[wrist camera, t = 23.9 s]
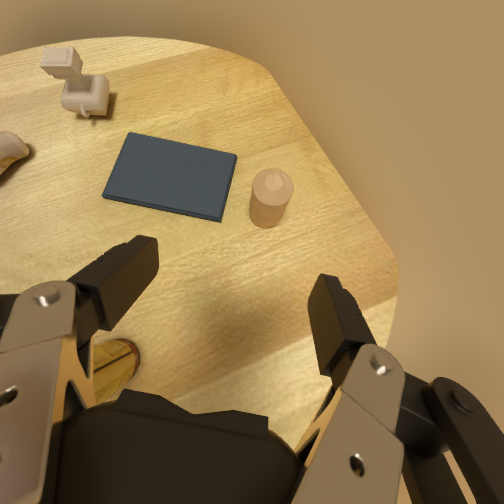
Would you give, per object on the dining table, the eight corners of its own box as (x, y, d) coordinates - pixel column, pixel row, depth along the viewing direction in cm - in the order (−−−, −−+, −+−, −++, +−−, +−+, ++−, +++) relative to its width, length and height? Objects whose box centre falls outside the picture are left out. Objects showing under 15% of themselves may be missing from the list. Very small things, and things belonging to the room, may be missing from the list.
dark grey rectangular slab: (104, 198, 34) (98, 194, 33) (130, 135, 37) (126, 129, 36) (220, 222, 34) (219, 219, 33) (237, 158, 37) (237, 153, 36)
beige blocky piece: (112, 127, 37) (76, 79, 29) (74, 127, 37) (27, 77, 29) (118, 89, 39) (86, 34, 31) (82, 88, 39) (40, 32, 31)
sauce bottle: (88, 354, 28) (-229, 465, 9) (130, 329, 30) (-75, 382, 10) (106, 398, 27) (-210, 631, 8) (150, 371, 28) (-39, 519, 9)
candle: (286, 220, 35) (304, 189, 25) (258, 233, 34) (266, 207, 24) (271, 194, 36) (283, 155, 26) (244, 206, 35) (245, 170, 25)
